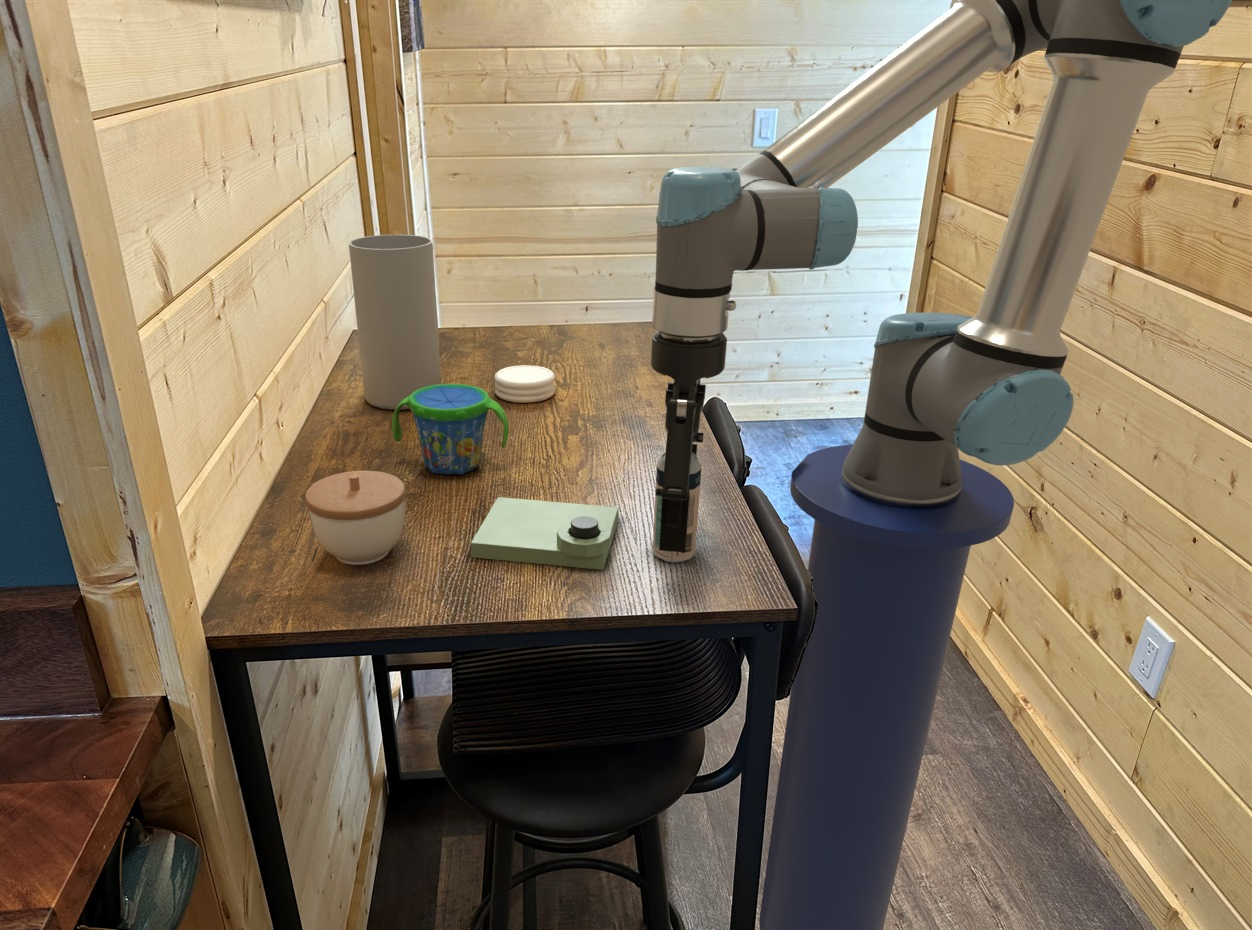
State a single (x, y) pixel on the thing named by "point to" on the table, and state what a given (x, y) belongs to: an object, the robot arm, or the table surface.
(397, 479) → the trinket box
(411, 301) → the cylinder vase
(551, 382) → the coaster
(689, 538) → the beer can
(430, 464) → the snack cup
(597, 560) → the scale
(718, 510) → the table surface
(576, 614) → the table surface
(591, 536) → the button
